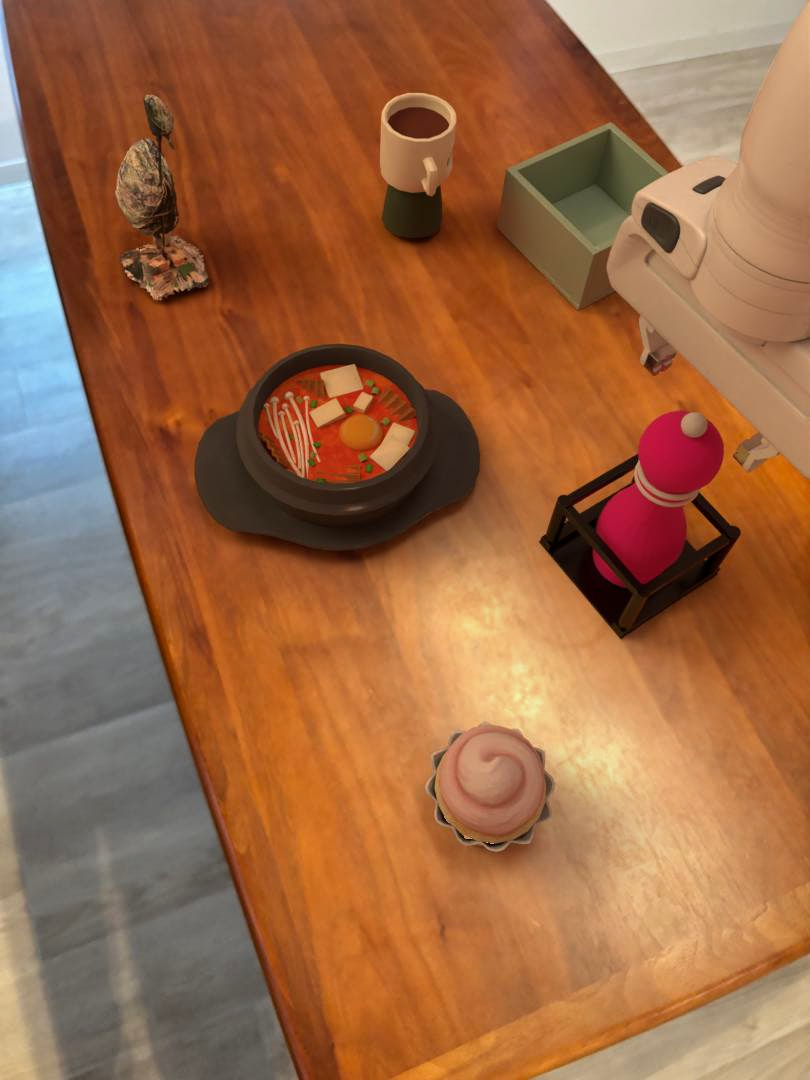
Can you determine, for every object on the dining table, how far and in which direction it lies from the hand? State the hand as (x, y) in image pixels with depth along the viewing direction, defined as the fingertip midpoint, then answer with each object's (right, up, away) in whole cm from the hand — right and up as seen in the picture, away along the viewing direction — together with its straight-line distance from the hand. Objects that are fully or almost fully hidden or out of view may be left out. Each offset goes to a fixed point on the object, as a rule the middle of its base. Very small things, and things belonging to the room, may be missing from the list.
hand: (699, 412), depth 68 cm
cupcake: (-14, -28, +7) cm, 33 cm away
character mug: (-19, +24, +37) cm, 48 cm away
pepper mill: (-1, -10, +18) cm, 21 cm away
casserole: (-26, -3, +21) cm, 34 cm away
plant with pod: (-44, +19, +33) cm, 58 cm away
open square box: (-1, +22, +37) cm, 43 cm away
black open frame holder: (-1, -10, +18) cm, 21 cm away
